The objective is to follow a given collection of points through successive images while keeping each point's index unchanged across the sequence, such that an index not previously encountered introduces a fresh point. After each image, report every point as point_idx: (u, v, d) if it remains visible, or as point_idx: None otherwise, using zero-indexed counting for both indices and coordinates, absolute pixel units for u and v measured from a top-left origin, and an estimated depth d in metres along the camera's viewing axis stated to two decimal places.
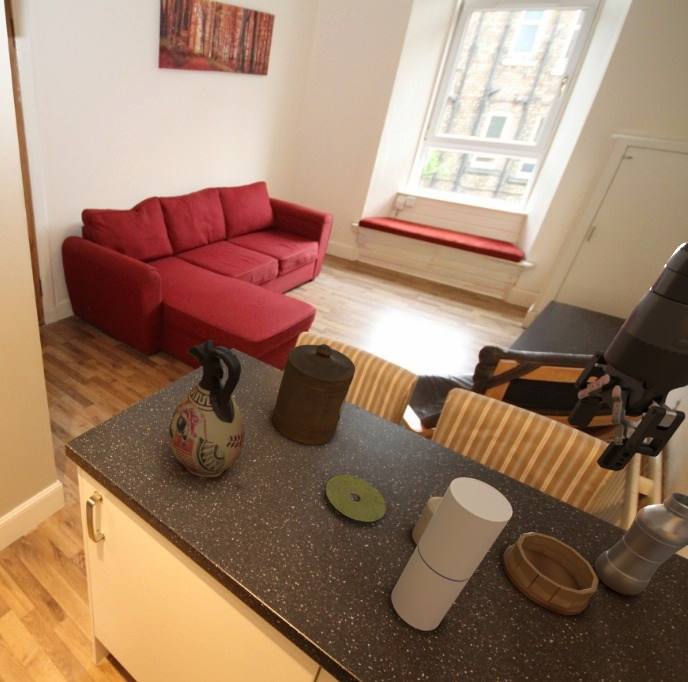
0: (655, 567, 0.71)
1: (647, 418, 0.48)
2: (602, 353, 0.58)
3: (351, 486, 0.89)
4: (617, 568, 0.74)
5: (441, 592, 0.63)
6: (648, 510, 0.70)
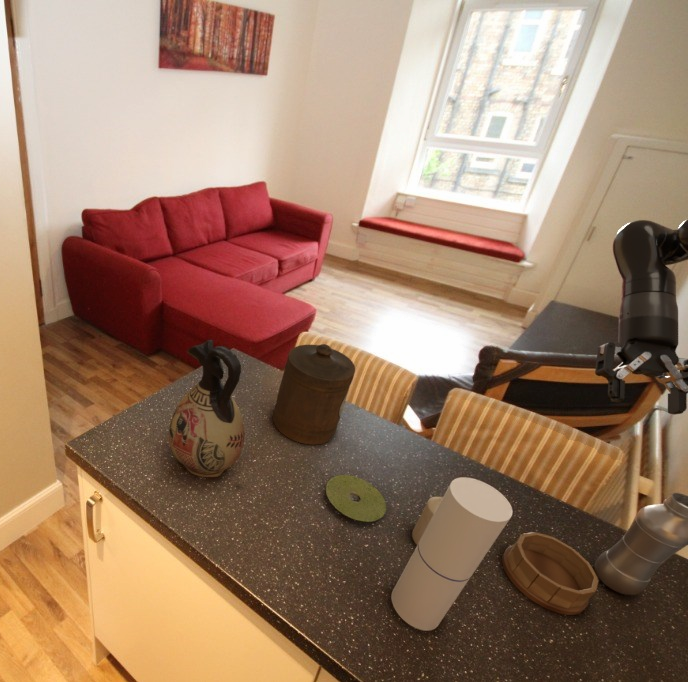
0: (655, 567, 0.71)
1: None
2: None
3: (351, 486, 0.89)
4: (617, 568, 0.74)
5: (441, 592, 0.63)
6: (648, 510, 0.70)
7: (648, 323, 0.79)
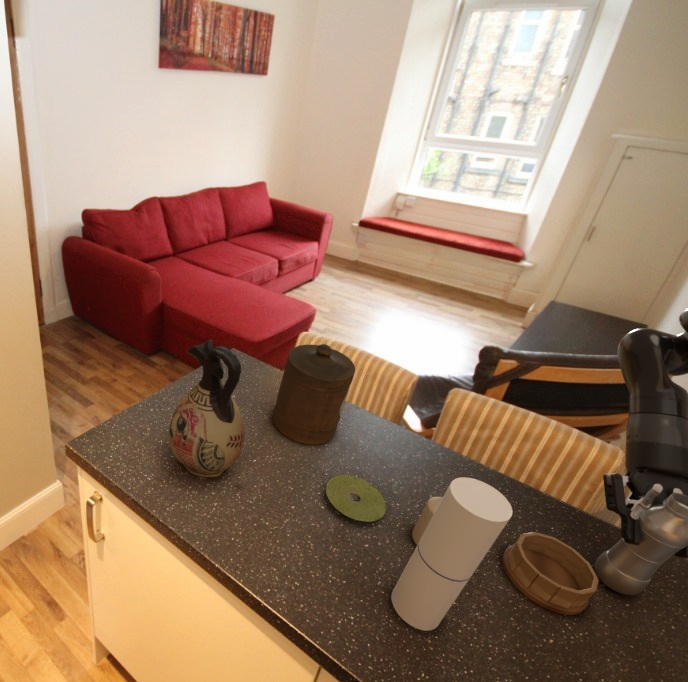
0: (655, 567, 0.71)
1: None
2: None
3: (351, 486, 0.89)
4: (617, 568, 0.74)
5: (441, 592, 0.63)
6: (648, 510, 0.70)
7: (659, 452, 0.71)
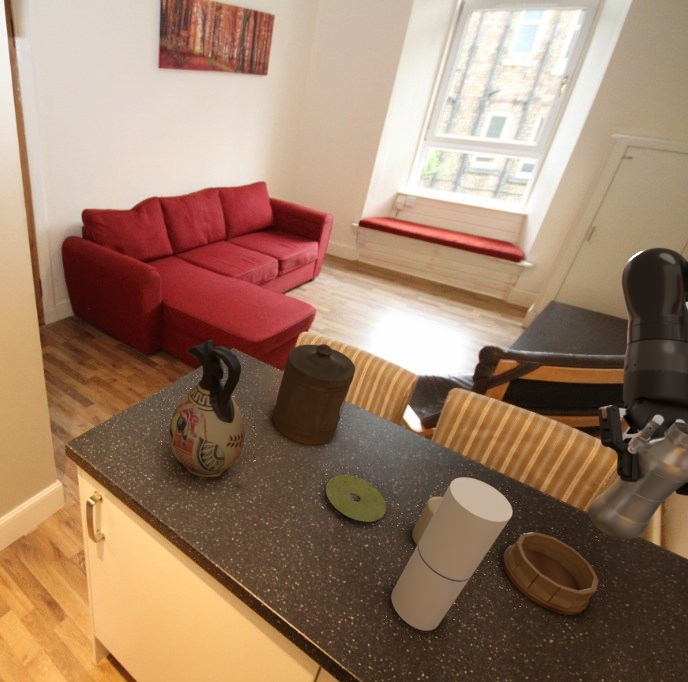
0: (654, 507, 0.64)
1: None
2: None
3: (351, 486, 0.89)
4: (613, 510, 0.67)
5: (441, 592, 0.63)
6: (647, 443, 0.63)
7: (660, 379, 0.64)
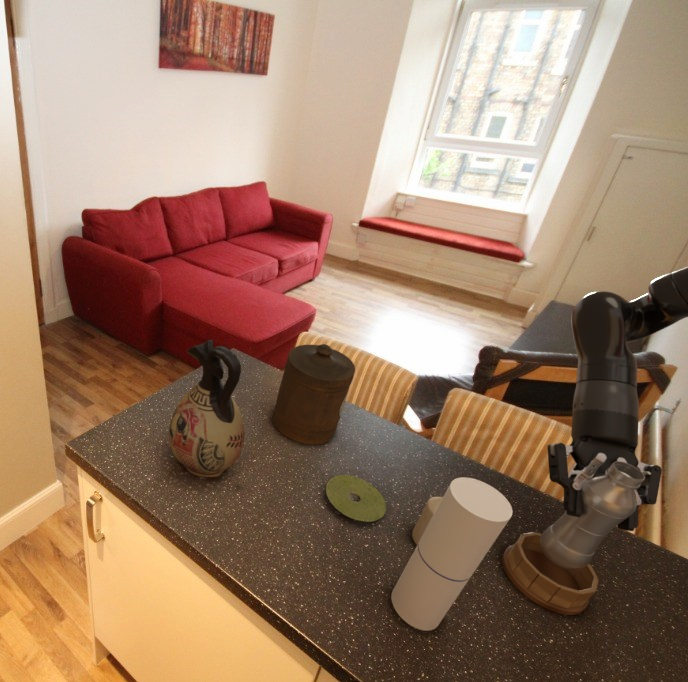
0: (598, 540, 0.67)
1: None
2: None
3: (351, 486, 0.89)
4: (560, 542, 0.70)
5: (441, 592, 0.63)
6: (590, 480, 0.67)
7: (603, 419, 0.68)
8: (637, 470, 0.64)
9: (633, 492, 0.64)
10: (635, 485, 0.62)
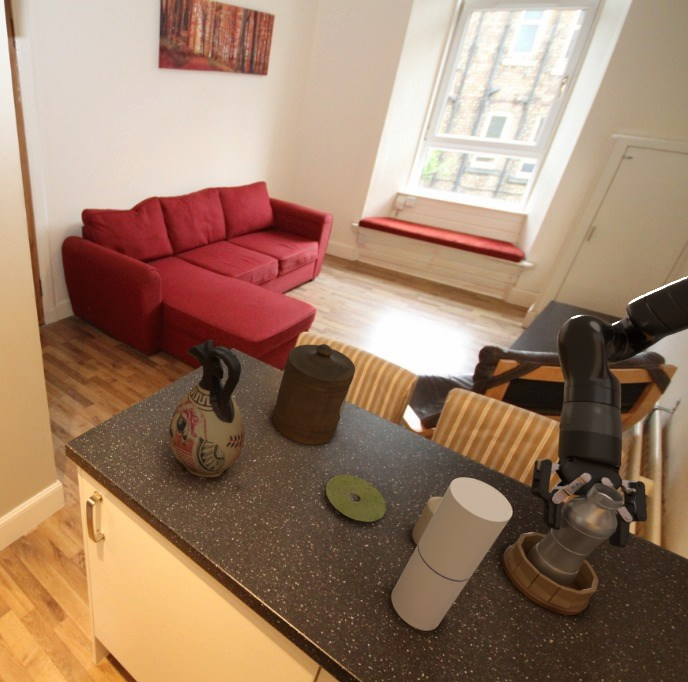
0: (580, 559, 0.70)
1: None
2: None
3: (351, 486, 0.89)
4: (545, 560, 0.73)
5: (441, 592, 0.63)
6: (573, 501, 0.69)
7: (588, 440, 0.70)
8: (617, 492, 0.66)
9: (613, 513, 0.66)
10: (614, 507, 0.65)
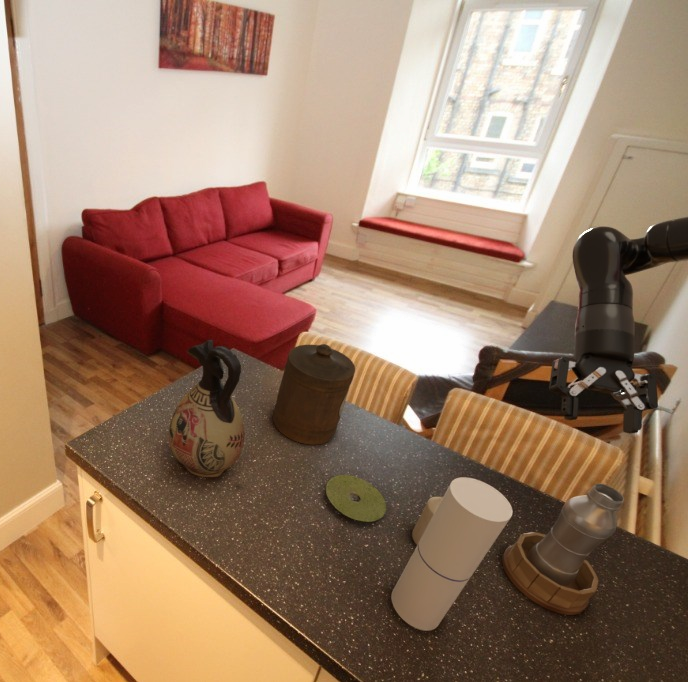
0: (580, 559, 0.70)
1: None
2: None
3: (351, 486, 0.89)
4: (545, 560, 0.73)
5: (441, 592, 0.63)
6: (573, 501, 0.69)
7: (603, 337, 0.75)
8: (617, 492, 0.66)
9: (613, 513, 0.66)
10: (614, 507, 0.65)
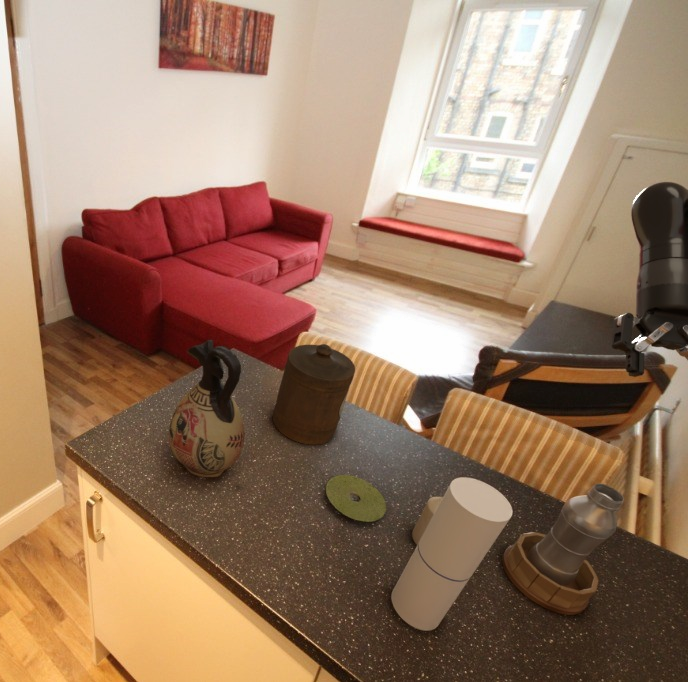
0: (580, 559, 0.70)
1: None
2: None
3: (351, 486, 0.89)
4: (545, 560, 0.73)
5: (441, 592, 0.63)
6: (573, 501, 0.69)
7: (669, 291, 0.73)
8: (617, 492, 0.66)
9: (613, 513, 0.66)
10: (614, 507, 0.65)
